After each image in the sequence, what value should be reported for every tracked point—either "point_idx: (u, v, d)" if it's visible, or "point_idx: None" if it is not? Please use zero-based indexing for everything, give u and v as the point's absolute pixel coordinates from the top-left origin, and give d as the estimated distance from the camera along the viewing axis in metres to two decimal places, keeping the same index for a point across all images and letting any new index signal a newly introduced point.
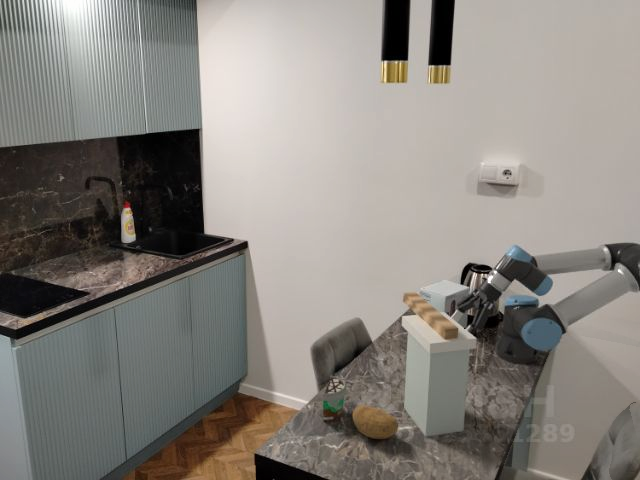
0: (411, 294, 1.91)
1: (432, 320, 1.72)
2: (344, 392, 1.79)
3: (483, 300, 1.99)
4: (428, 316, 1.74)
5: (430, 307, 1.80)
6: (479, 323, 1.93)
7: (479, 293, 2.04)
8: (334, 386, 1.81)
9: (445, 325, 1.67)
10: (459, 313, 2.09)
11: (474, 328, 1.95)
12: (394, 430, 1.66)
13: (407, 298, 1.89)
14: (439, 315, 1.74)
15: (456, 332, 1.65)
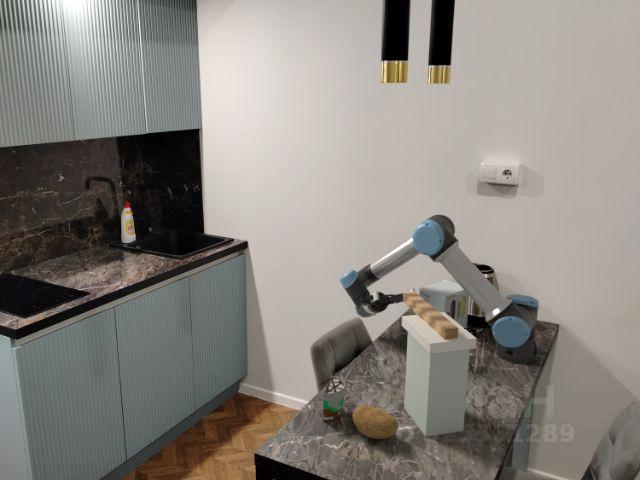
0: (411, 294, 1.91)
1: (432, 320, 1.72)
2: (344, 392, 1.79)
3: (374, 304, 2.18)
4: (428, 316, 1.74)
5: (430, 307, 1.80)
6: (361, 302, 2.11)
7: None
8: (335, 386, 1.81)
9: (445, 325, 1.67)
10: None
11: (366, 299, 2.09)
12: (394, 430, 1.66)
13: (407, 298, 1.89)
14: (439, 315, 1.74)
15: (456, 332, 1.65)
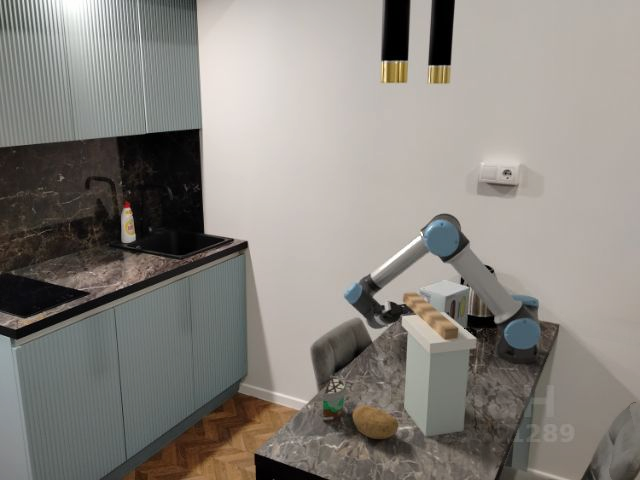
0: (411, 294, 1.91)
1: (432, 320, 1.72)
2: (344, 392, 1.79)
3: None
4: (428, 316, 1.74)
5: (430, 307, 1.80)
6: None
7: None
8: (334, 386, 1.81)
9: (445, 325, 1.67)
10: None
11: (377, 310, 1.96)
12: (394, 430, 1.66)
13: (407, 298, 1.89)
14: (439, 315, 1.74)
15: (456, 332, 1.65)
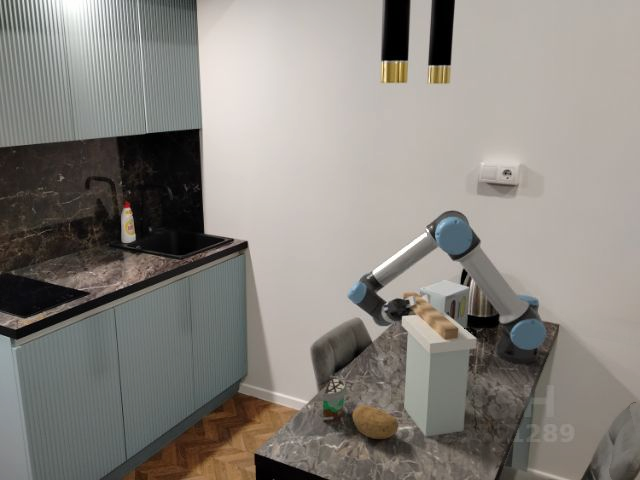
0: (411, 294, 1.91)
1: (432, 320, 1.72)
2: (344, 392, 1.79)
3: (394, 312, 1.99)
4: (428, 316, 1.74)
5: (430, 307, 1.80)
6: (394, 307, 1.90)
7: None
8: (335, 386, 1.81)
9: (445, 325, 1.67)
10: None
11: (401, 304, 1.88)
12: (394, 430, 1.66)
13: None
14: (439, 315, 1.74)
15: (456, 332, 1.65)
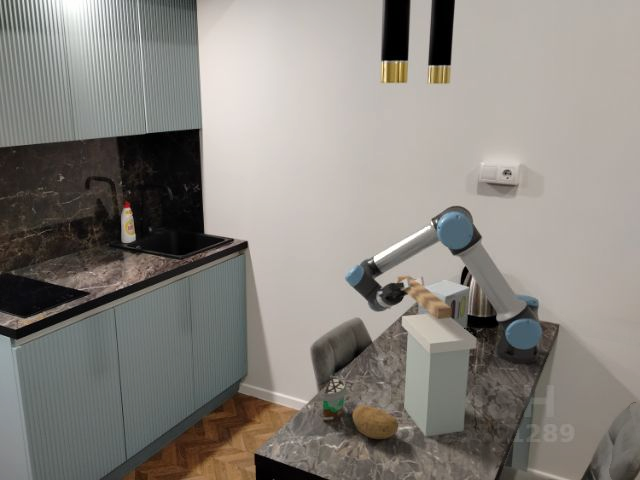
0: (405, 278, 1.94)
1: (426, 301, 1.75)
2: (344, 392, 1.79)
3: (389, 296, 2.02)
4: (422, 297, 1.78)
5: (424, 289, 1.83)
6: (389, 290, 1.93)
7: None
8: (334, 386, 1.81)
9: (438, 305, 1.70)
10: None
11: (396, 287, 1.92)
12: (394, 430, 1.66)
13: None
14: (433, 296, 1.77)
15: (449, 312, 1.69)
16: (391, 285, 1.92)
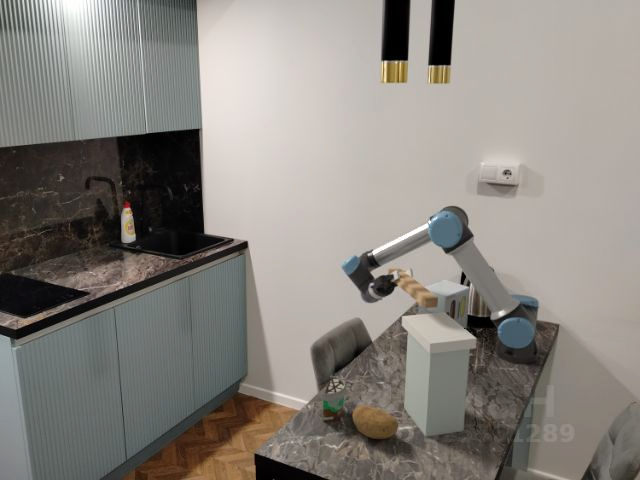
0: (395, 270, 2.02)
1: (414, 291, 1.83)
2: (344, 392, 1.79)
3: (380, 287, 2.10)
4: (410, 288, 1.85)
5: (413, 280, 1.91)
6: (380, 282, 2.01)
7: None
8: (334, 386, 1.81)
9: (425, 295, 1.78)
10: None
11: (386, 279, 2.00)
12: (394, 430, 1.66)
13: None
14: (421, 287, 1.85)
15: (436, 301, 1.77)
16: (382, 277, 2.00)
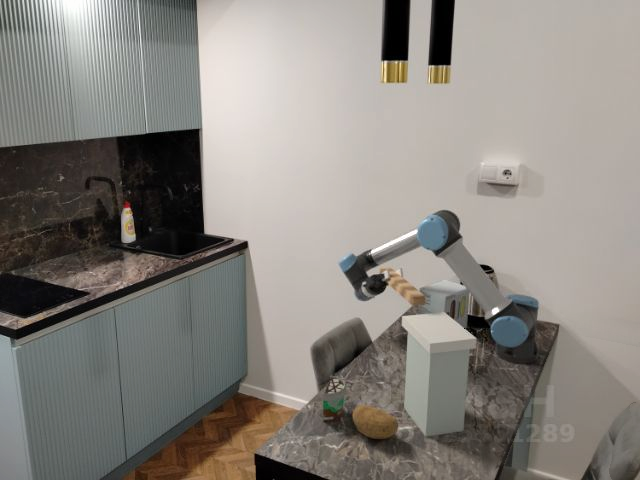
0: (386, 269, 2.11)
1: (403, 290, 1.92)
2: (344, 392, 1.79)
3: (372, 286, 2.19)
4: (400, 287, 1.95)
5: (402, 279, 2.00)
6: (371, 281, 2.10)
7: (385, 285, 2.21)
8: (334, 386, 1.81)
9: (413, 293, 1.87)
10: None
11: (378, 278, 2.09)
12: (394, 430, 1.66)
13: None
14: (410, 285, 1.94)
15: (423, 300, 1.85)
16: (373, 276, 2.09)
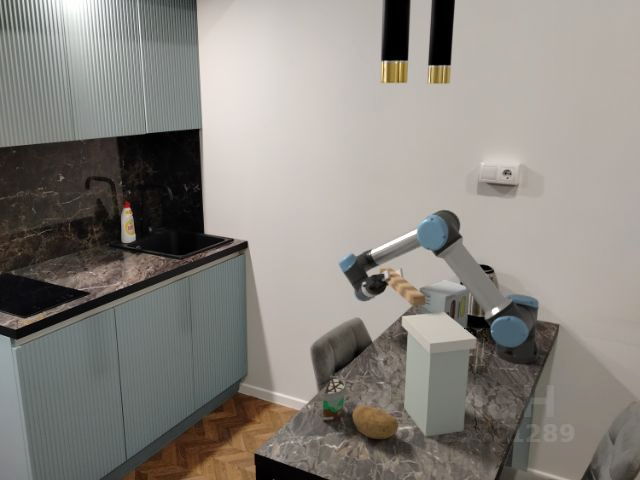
0: (386, 269, 2.11)
1: (403, 290, 1.92)
2: (344, 392, 1.79)
3: (372, 286, 2.19)
4: (400, 287, 1.95)
5: (402, 279, 2.00)
6: (371, 281, 2.10)
7: (385, 285, 2.21)
8: (334, 386, 1.81)
9: (413, 293, 1.87)
10: None
11: (378, 278, 2.09)
12: (394, 430, 1.66)
13: None
14: (410, 286, 1.94)
15: (423, 300, 1.86)
16: (373, 276, 2.09)
